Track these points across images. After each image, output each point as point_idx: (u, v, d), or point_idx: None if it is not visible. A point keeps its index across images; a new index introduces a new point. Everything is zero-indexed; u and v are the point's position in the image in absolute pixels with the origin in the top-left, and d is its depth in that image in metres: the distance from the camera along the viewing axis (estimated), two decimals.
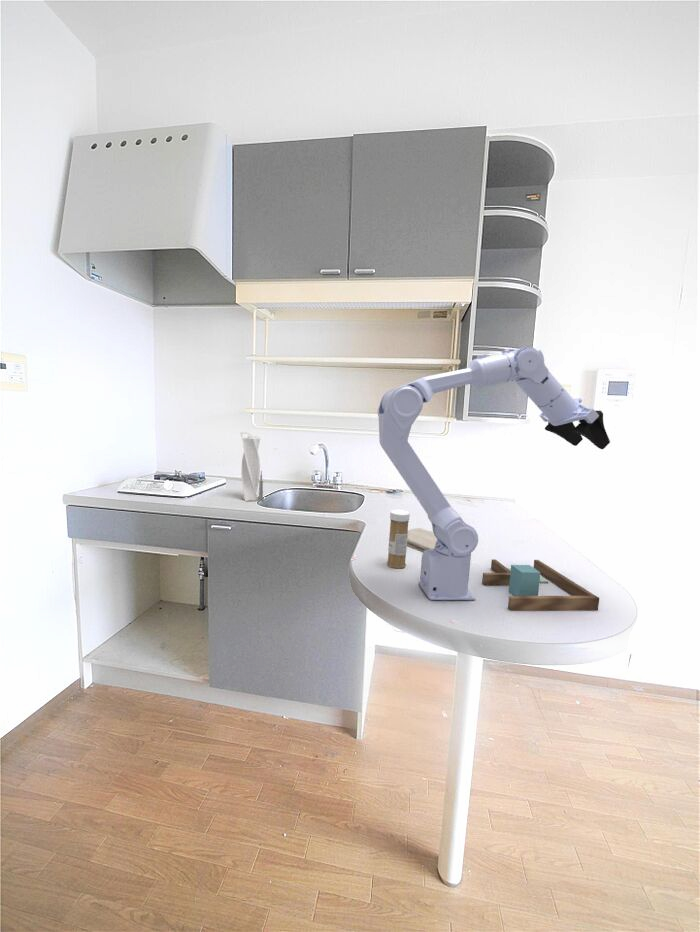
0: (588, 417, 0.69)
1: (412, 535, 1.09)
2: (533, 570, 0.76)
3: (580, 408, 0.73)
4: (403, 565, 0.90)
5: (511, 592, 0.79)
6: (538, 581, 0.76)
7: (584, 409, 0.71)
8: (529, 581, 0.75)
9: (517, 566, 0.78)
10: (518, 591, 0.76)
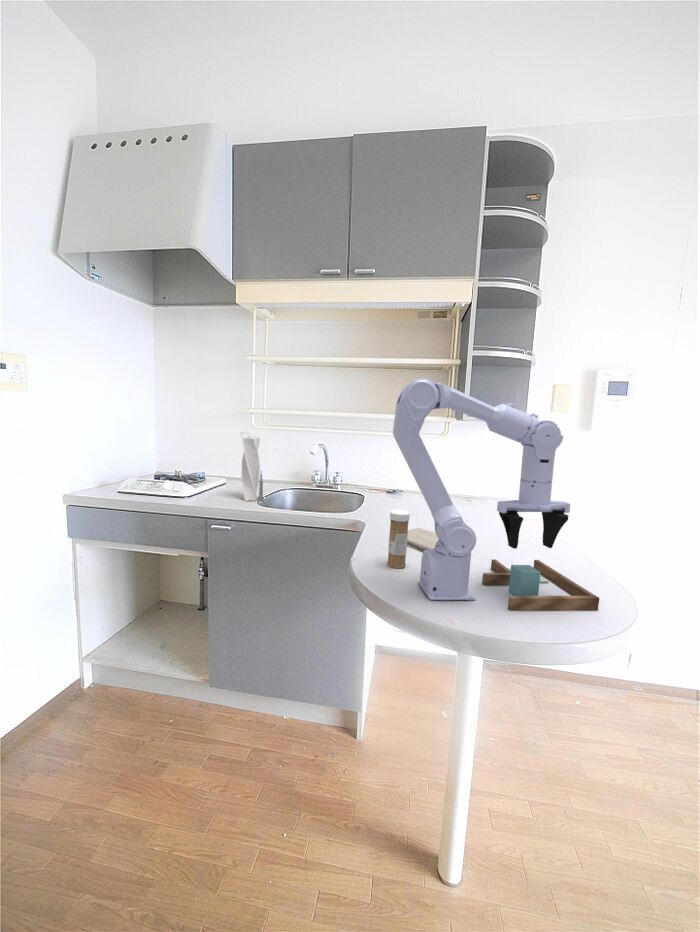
0: (497, 504, 0.75)
1: (412, 535, 1.09)
2: (533, 570, 0.76)
3: None
4: (403, 565, 0.90)
5: (511, 592, 0.79)
6: (538, 581, 0.76)
7: None
8: (529, 581, 0.75)
9: (517, 566, 0.78)
10: (518, 591, 0.76)
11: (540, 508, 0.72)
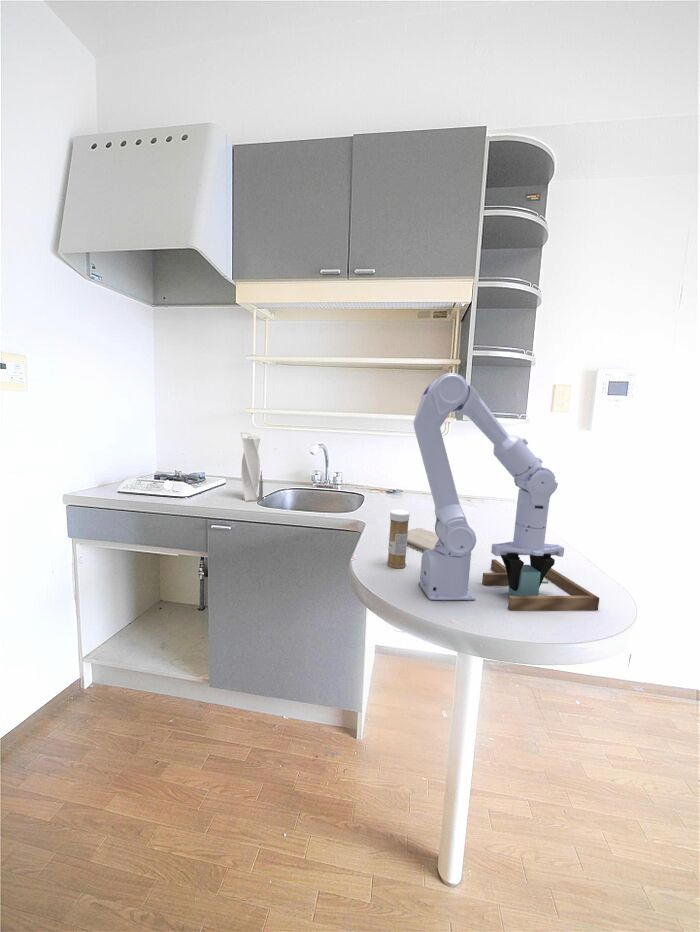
0: (492, 546, 0.77)
1: (412, 535, 1.09)
2: (533, 570, 0.76)
3: None
4: (403, 565, 0.90)
5: (511, 592, 0.79)
6: (538, 581, 0.76)
7: None
8: (529, 581, 0.75)
9: None
10: (518, 591, 0.76)
11: (533, 553, 0.73)
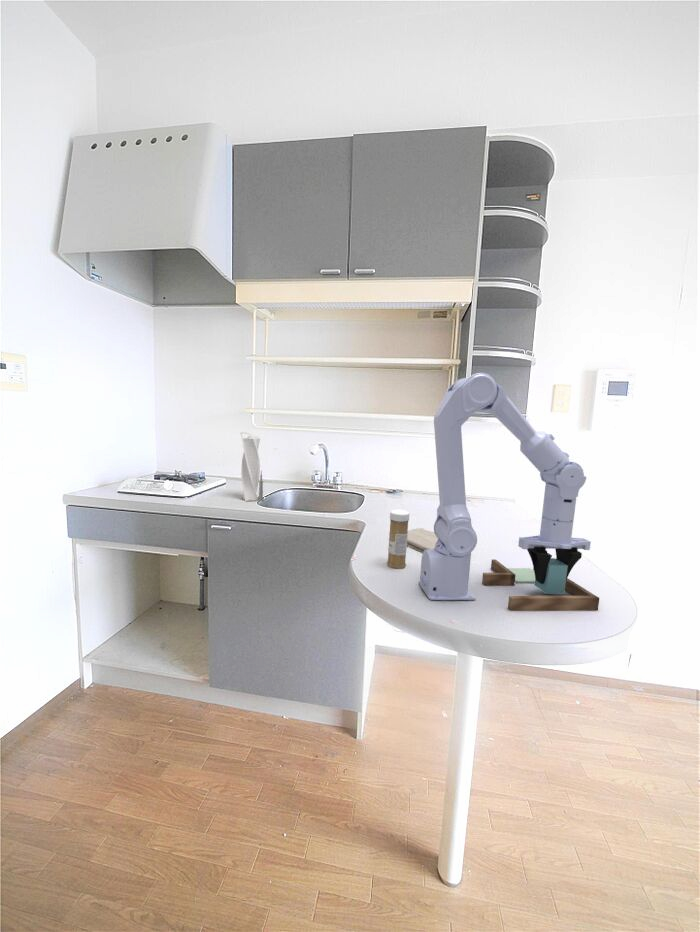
0: (519, 540, 0.78)
1: (412, 535, 1.09)
2: (560, 563, 0.77)
3: None
4: (403, 565, 0.90)
5: (537, 585, 0.80)
6: (565, 574, 0.77)
7: None
8: (556, 574, 0.76)
9: None
10: (545, 584, 0.77)
11: (561, 546, 0.74)
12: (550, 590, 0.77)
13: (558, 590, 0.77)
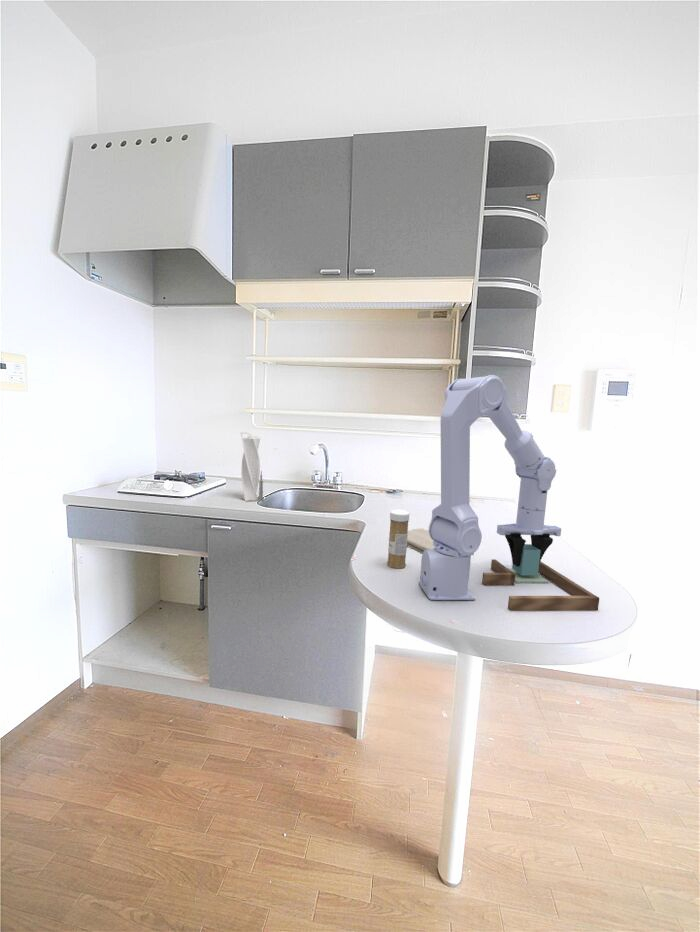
0: (497, 527, 0.87)
1: (412, 535, 1.09)
2: (534, 548, 0.86)
3: None
4: (403, 565, 0.90)
5: (514, 568, 0.89)
6: (538, 558, 0.86)
7: (511, 528, 0.85)
8: (530, 558, 0.85)
9: None
10: (521, 567, 0.86)
11: (534, 532, 0.83)
12: (525, 572, 0.86)
13: (532, 572, 0.86)
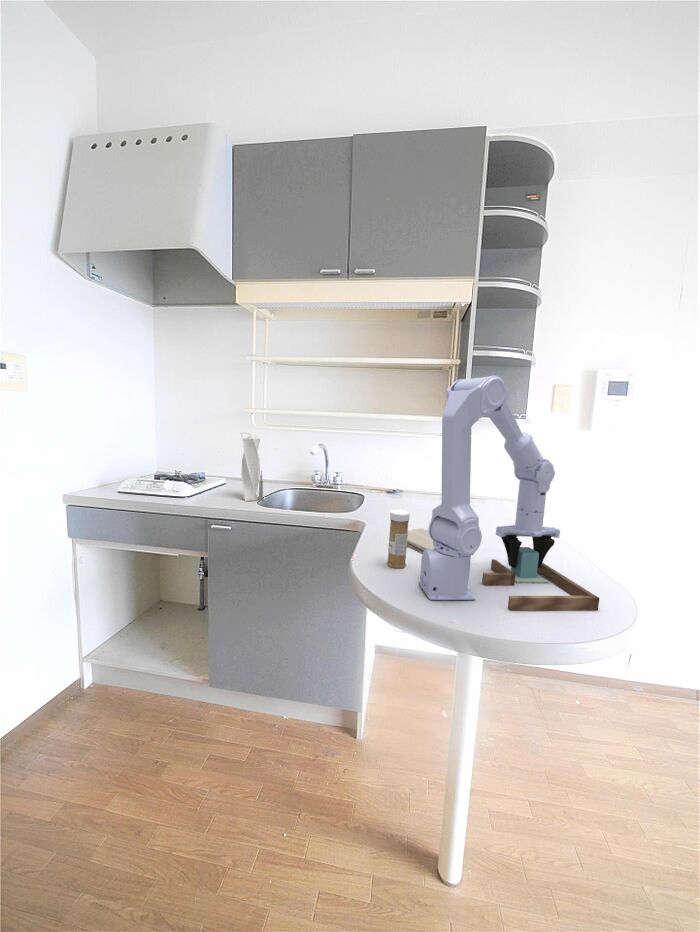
0: (496, 529, 0.87)
1: (412, 535, 1.09)
2: (532, 551, 0.87)
3: None
4: (403, 565, 0.90)
5: (513, 571, 0.89)
6: (537, 560, 0.86)
7: None
8: (529, 561, 0.86)
9: None
10: (519, 570, 0.86)
11: (533, 534, 0.83)
12: (523, 575, 0.86)
13: (531, 575, 0.86)
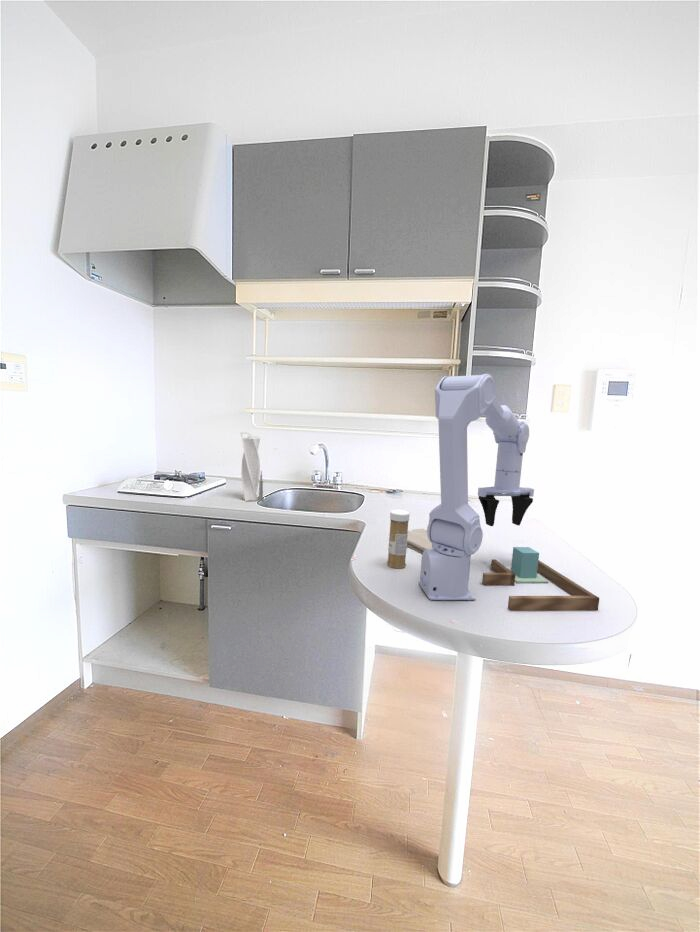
0: (478, 490, 0.91)
1: (412, 535, 1.09)
2: (532, 551, 0.87)
3: None
4: (403, 565, 0.90)
5: (513, 571, 0.89)
6: (537, 560, 0.86)
7: None
8: (529, 561, 0.86)
9: (518, 548, 0.89)
10: (519, 570, 0.86)
11: (512, 492, 0.89)
12: (523, 575, 0.86)
13: (531, 575, 0.86)
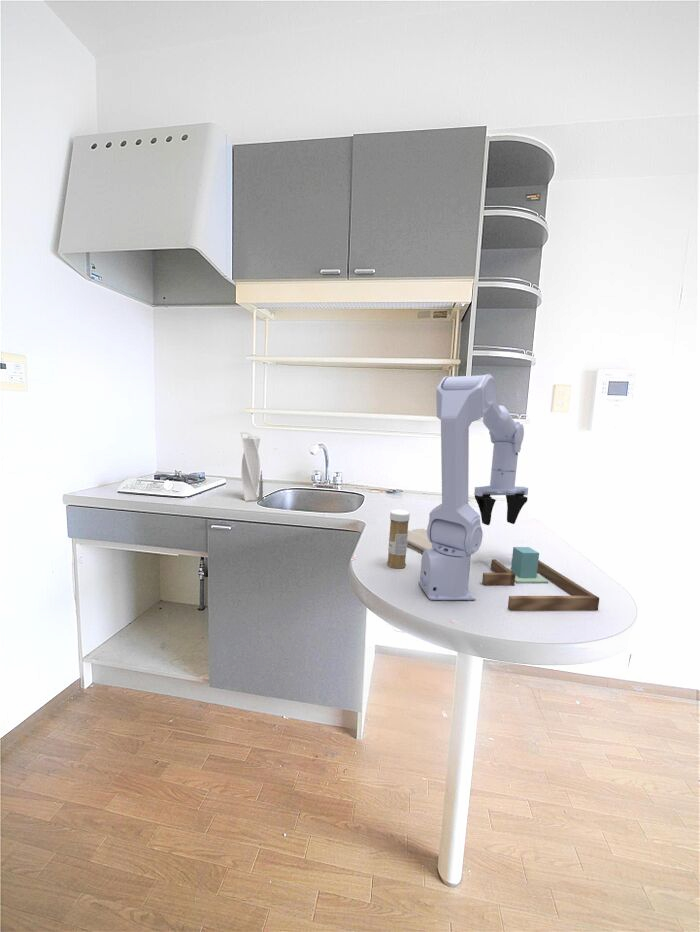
0: (475, 489, 0.92)
1: (412, 535, 1.09)
2: (532, 551, 0.87)
3: None
4: (403, 565, 0.90)
5: (513, 571, 0.89)
6: (537, 560, 0.86)
7: (488, 489, 0.91)
8: (529, 561, 0.86)
9: (518, 548, 0.89)
10: (519, 570, 0.86)
11: (508, 491, 0.90)
12: (523, 575, 0.86)
13: (531, 575, 0.86)
